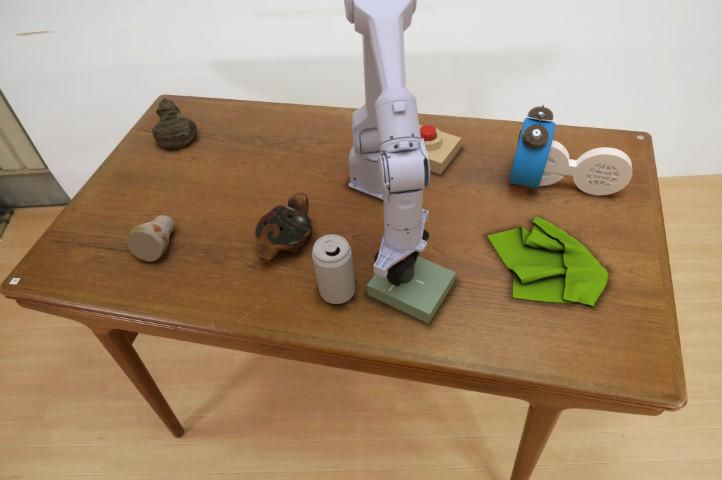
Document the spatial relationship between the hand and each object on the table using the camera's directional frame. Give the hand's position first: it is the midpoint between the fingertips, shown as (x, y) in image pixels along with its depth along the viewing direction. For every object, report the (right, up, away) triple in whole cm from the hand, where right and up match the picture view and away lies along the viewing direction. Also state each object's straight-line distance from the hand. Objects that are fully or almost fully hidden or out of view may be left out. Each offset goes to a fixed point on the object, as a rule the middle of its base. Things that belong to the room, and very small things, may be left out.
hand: (401, 272), depth 83 cm
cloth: (+27, +2, +5) cm, 27 cm away
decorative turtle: (-21, +6, +10) cm, 24 cm away
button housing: (+7, +27, +25) cm, 38 cm away
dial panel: (+2, -3, +2) cm, 4 cm away
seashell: (-52, +30, +32) cm, 68 cm away
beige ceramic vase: (-47, +5, +11) cm, 49 cm away
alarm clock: (+27, +20, +19) cm, 38 cm away
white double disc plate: (+35, +18, +17) cm, 43 cm away
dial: (0, 0, 0) cm, 0 cm away
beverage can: (-11, -3, +2) cm, 12 cm away
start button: (+7, +30, +22) cm, 37 cm away
